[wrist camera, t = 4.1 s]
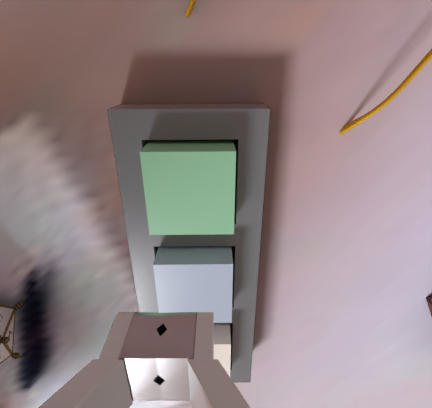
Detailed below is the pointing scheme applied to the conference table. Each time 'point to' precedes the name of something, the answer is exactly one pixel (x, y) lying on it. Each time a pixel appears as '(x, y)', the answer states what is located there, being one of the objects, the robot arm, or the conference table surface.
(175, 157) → the green button
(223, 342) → the cream button
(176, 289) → the slate blue button
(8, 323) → the game die
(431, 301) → the letter holder
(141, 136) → the button panel
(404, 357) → the conference table surface
